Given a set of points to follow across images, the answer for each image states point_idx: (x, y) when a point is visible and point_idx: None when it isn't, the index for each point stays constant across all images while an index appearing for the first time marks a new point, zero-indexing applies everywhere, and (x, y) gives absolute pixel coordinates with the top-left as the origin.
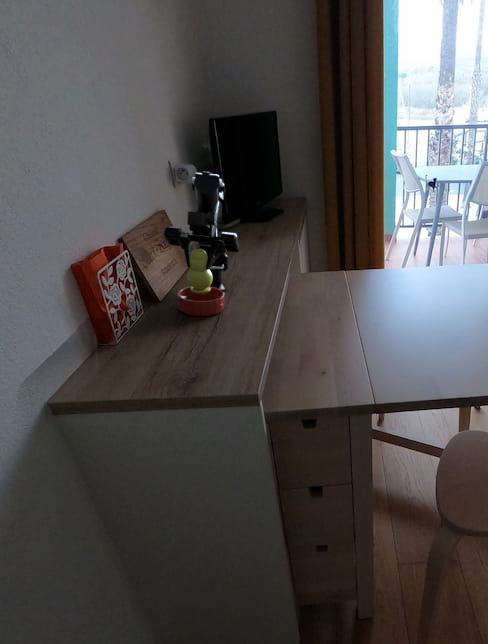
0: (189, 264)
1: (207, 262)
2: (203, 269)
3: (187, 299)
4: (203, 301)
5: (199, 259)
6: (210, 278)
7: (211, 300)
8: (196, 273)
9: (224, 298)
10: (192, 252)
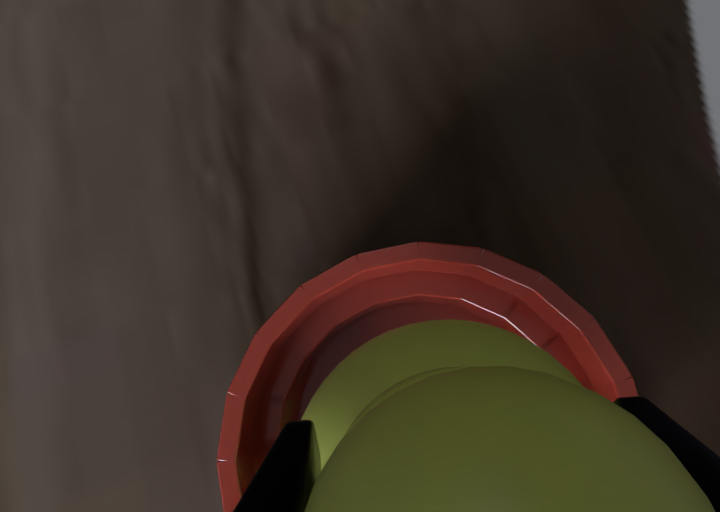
0: None
1: (289, 491)
2: (361, 412)
3: None
4: (345, 269)
5: (414, 386)
6: None
7: (289, 314)
8: (449, 346)
9: None
10: (652, 477)
